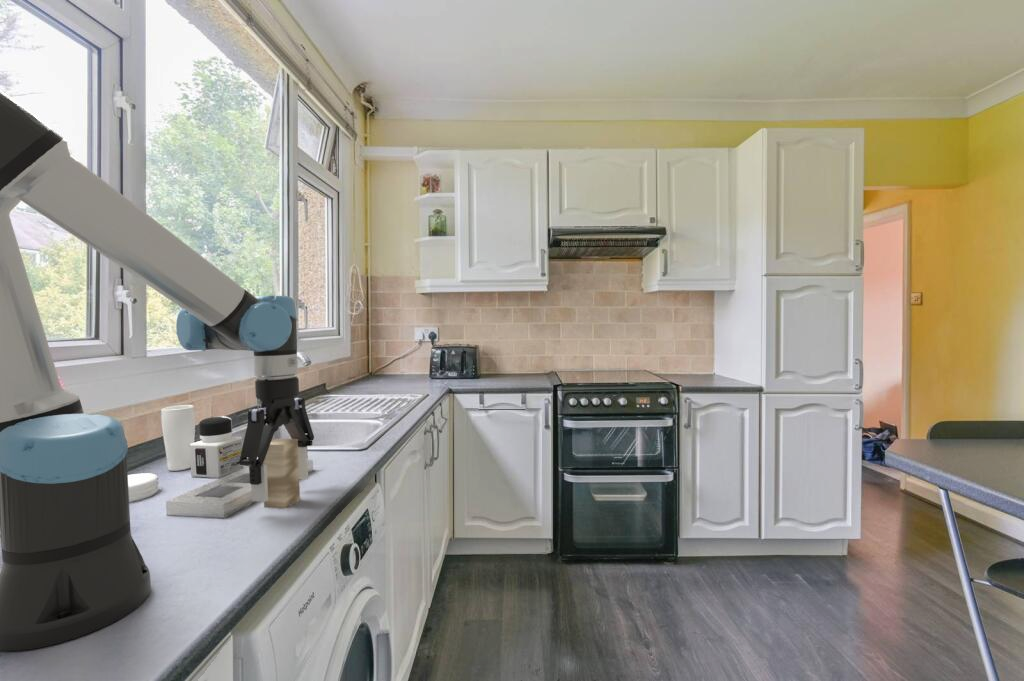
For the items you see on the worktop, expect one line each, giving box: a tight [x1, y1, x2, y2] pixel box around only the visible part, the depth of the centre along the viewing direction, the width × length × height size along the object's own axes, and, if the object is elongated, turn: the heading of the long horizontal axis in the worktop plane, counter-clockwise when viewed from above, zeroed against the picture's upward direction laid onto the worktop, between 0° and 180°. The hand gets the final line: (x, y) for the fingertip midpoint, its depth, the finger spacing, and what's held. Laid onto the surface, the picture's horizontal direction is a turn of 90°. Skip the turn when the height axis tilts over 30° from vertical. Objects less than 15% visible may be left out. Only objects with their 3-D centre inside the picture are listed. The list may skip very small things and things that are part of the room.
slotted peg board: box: [165, 459, 314, 519], centre depth 103 cm, size 28×12×3 cm, turn 170°
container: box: [190, 416, 245, 479], centre depth 116 cm, size 8×8×13 cm
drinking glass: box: [160, 404, 196, 472], centre depth 120 cm, size 7×7×15 cm
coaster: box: [128, 472, 160, 503], centre depth 101 cm, size 10×10×4 cm
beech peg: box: [263, 438, 301, 509], centre depth 95 cm, size 4×4×12 cm
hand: (281, 488), depth 95 cm, fingers open, 12 cm apart
